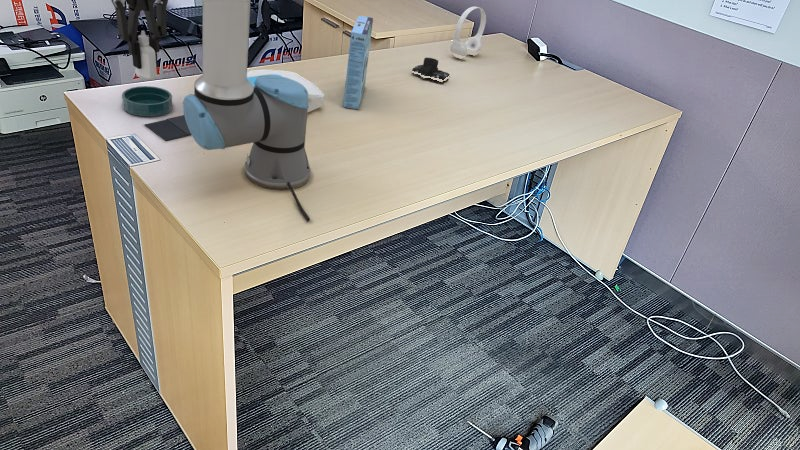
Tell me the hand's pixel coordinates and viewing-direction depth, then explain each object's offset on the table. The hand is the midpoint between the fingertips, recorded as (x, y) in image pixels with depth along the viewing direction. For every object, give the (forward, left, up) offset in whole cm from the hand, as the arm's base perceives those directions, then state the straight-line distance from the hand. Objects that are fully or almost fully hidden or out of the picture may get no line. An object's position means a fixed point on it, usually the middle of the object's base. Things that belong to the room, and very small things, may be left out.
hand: (145, 65), depth 155 cm
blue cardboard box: (-20, -58, -12) cm, 63 cm away
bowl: (0, 0, -12) cm, 12 cm away
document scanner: (-12, -29, -12) cm, 34 cm away
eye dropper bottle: (0, 0, -3) cm, 3 cm away
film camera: (-19, -97, -12) cm, 99 cm away
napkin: (-14, 0, -12) cm, 18 cm away
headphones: (-10, -130, -12) cm, 131 cm away
